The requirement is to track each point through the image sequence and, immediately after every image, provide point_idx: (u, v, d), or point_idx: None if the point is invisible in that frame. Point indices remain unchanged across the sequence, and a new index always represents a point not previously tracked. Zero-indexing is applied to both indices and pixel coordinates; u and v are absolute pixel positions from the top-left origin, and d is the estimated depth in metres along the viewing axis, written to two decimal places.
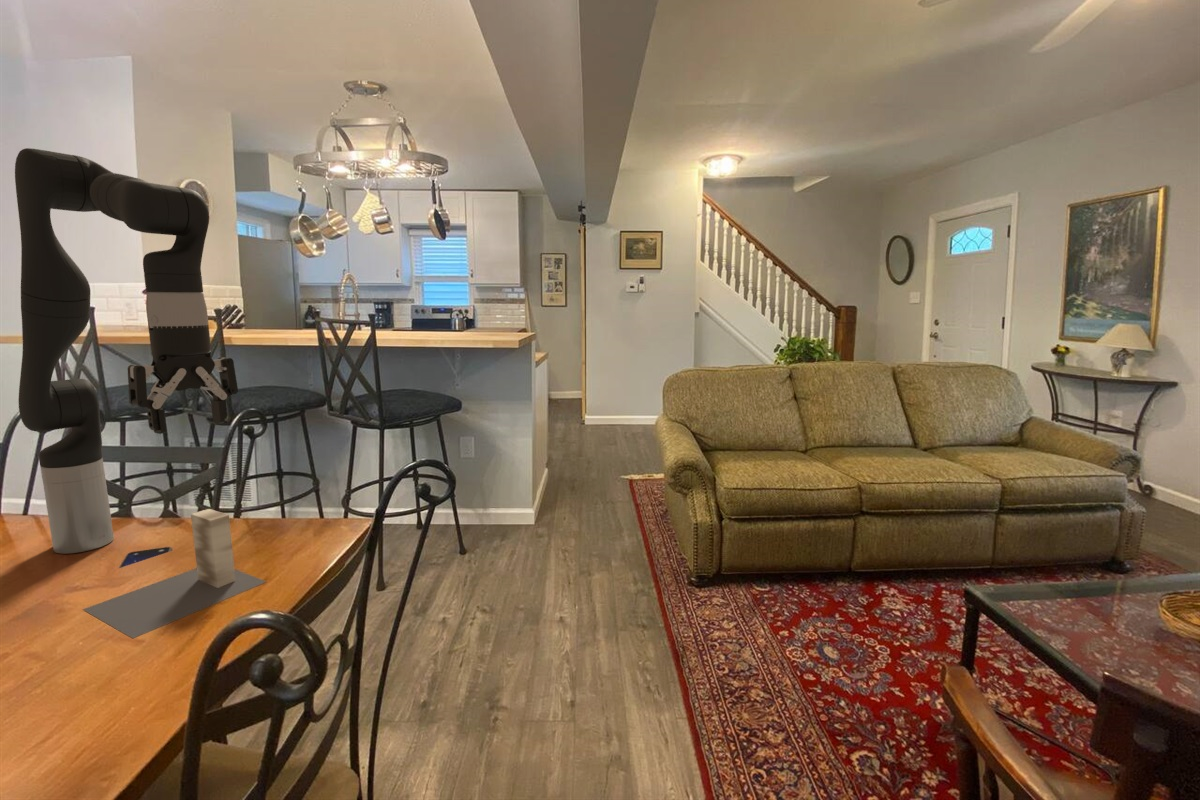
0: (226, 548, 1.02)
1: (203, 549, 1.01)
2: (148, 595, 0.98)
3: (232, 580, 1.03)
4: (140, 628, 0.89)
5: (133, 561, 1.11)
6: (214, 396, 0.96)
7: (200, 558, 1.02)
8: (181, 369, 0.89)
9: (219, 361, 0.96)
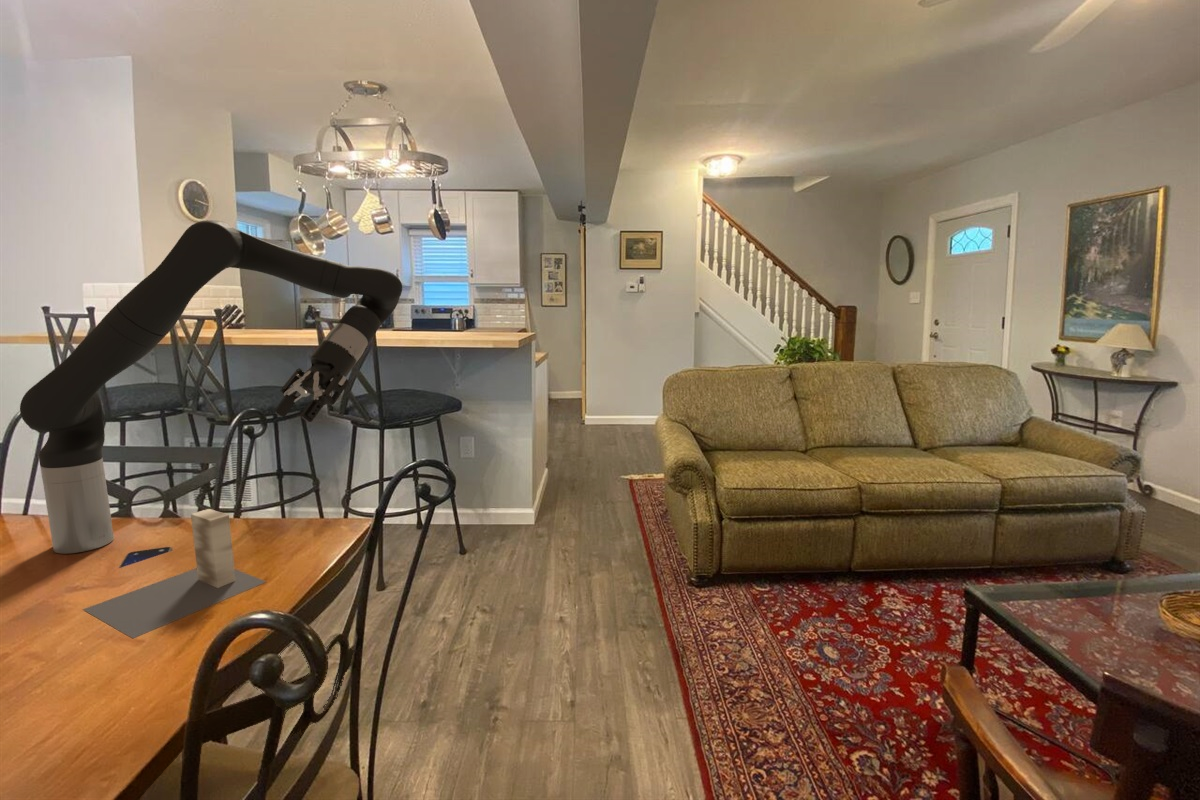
0: (226, 548, 1.02)
1: (203, 549, 1.01)
2: (148, 595, 0.98)
3: (232, 580, 1.03)
4: (140, 628, 0.89)
5: (133, 561, 1.11)
6: (291, 396, 1.17)
7: (200, 558, 1.02)
8: None
9: None
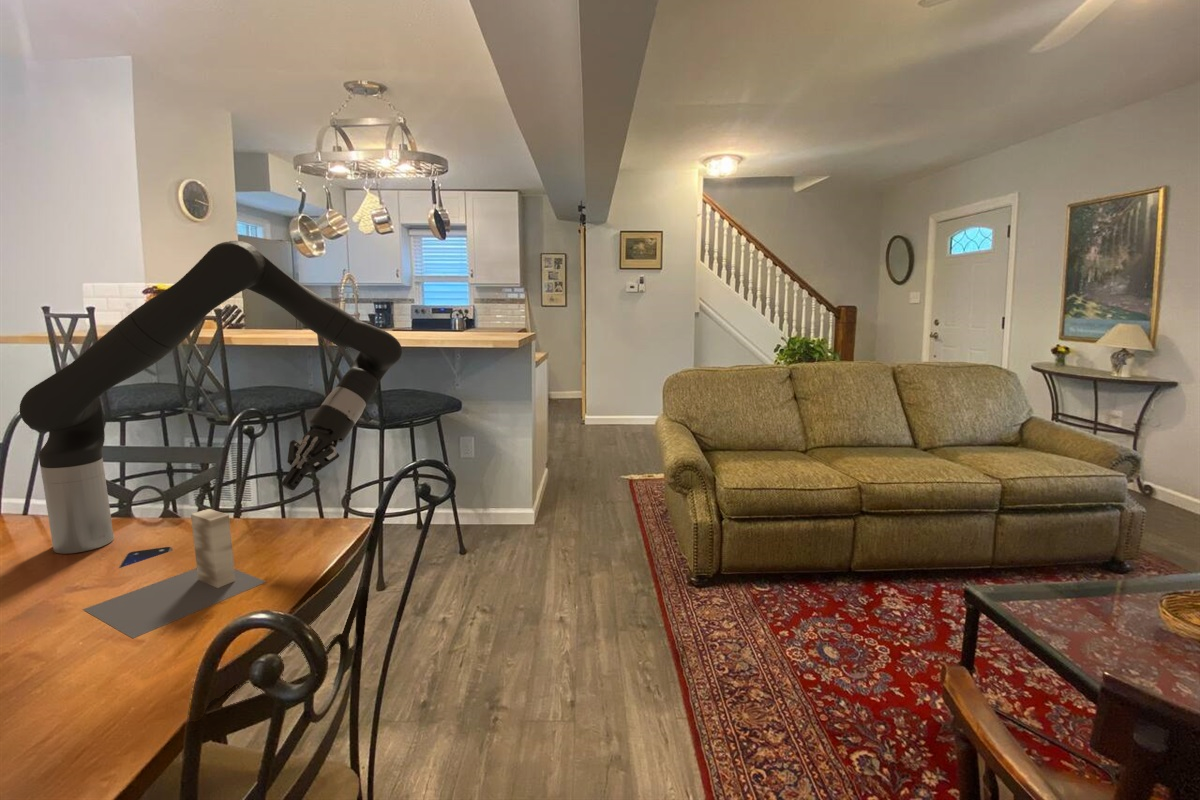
0: (226, 548, 1.02)
1: (203, 549, 1.01)
2: (148, 595, 0.98)
3: (232, 580, 1.03)
4: (140, 628, 0.89)
5: (133, 561, 1.11)
6: None
7: (200, 558, 1.02)
8: None
9: None
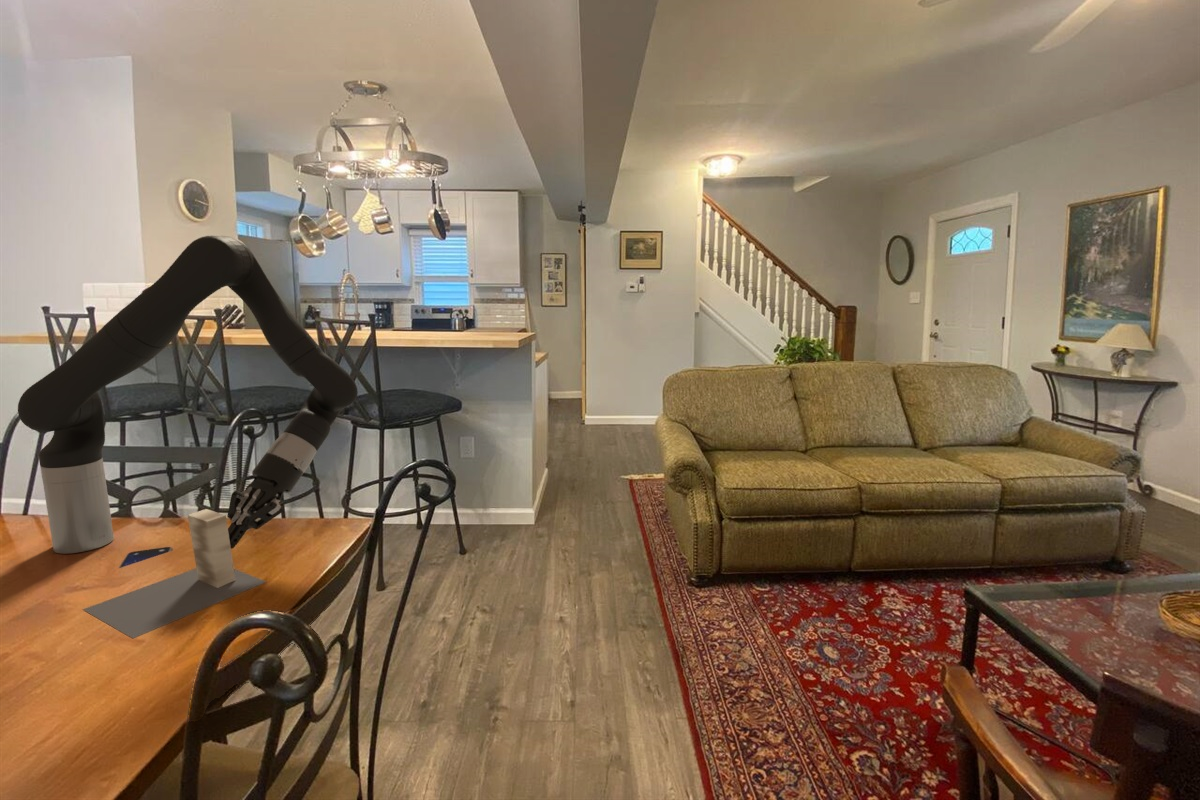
0: (224, 548, 1.01)
1: (201, 550, 1.01)
2: (148, 595, 0.98)
3: (232, 579, 1.03)
4: (140, 628, 0.89)
5: (133, 561, 1.11)
6: None
7: (199, 558, 1.02)
8: None
9: None
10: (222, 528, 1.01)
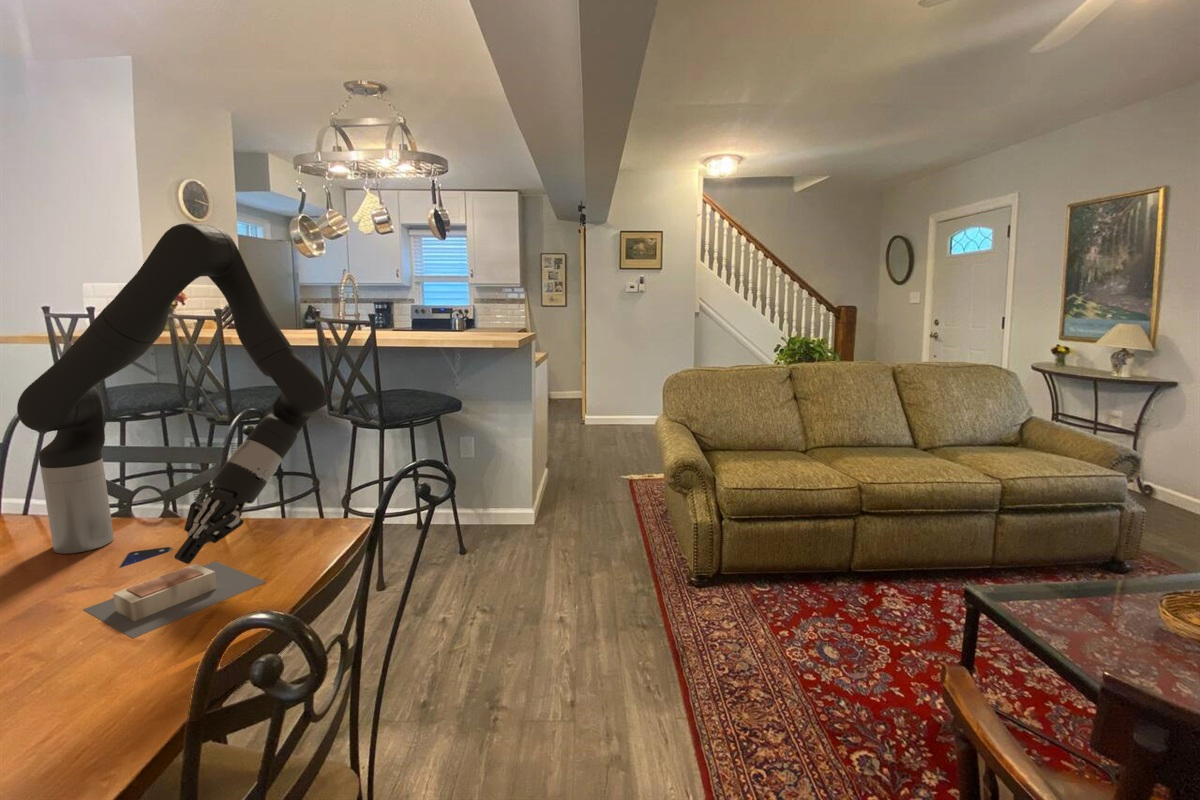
0: (174, 592, 0.95)
1: None
2: None
3: (213, 575, 1.00)
4: (140, 628, 0.89)
5: (133, 561, 1.11)
6: None
7: None
8: None
9: None
10: (148, 602, 0.92)
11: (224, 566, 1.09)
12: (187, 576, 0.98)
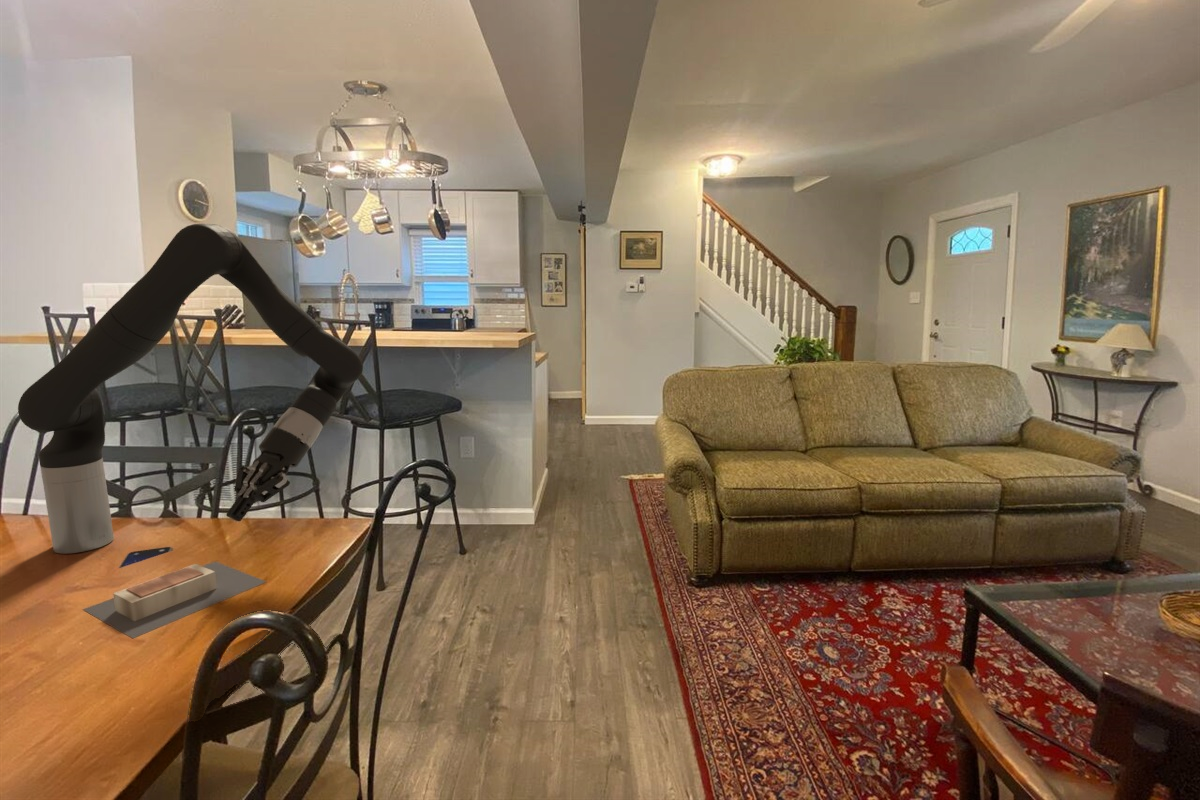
0: (174, 592, 0.95)
1: None
2: None
3: (213, 575, 1.00)
4: (140, 628, 0.89)
5: (133, 561, 1.11)
6: None
7: None
8: None
9: None
10: (148, 602, 0.92)
11: (224, 566, 1.09)
12: (187, 576, 0.98)
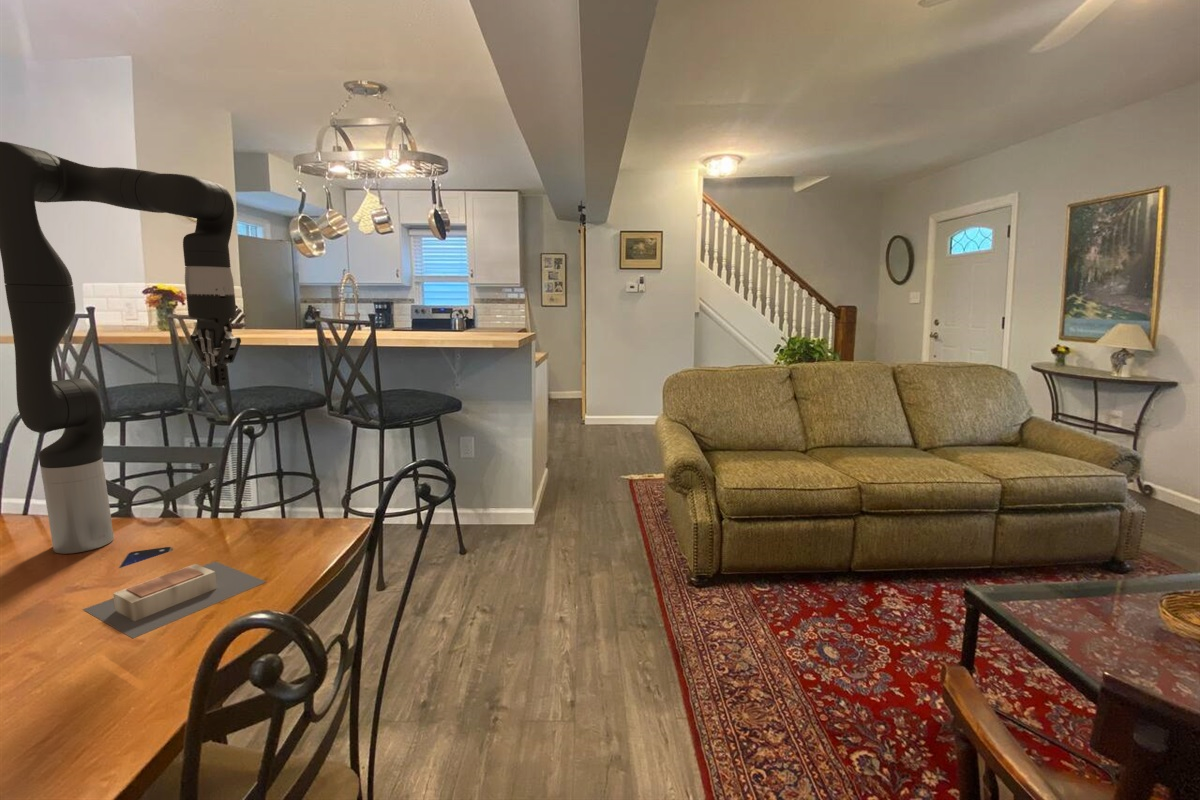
0: (174, 592, 0.95)
1: None
2: None
3: (213, 575, 1.00)
4: (140, 628, 0.89)
5: (133, 561, 1.11)
6: None
7: None
8: None
9: None
10: (148, 602, 0.92)
11: (224, 566, 1.09)
12: (187, 576, 0.98)
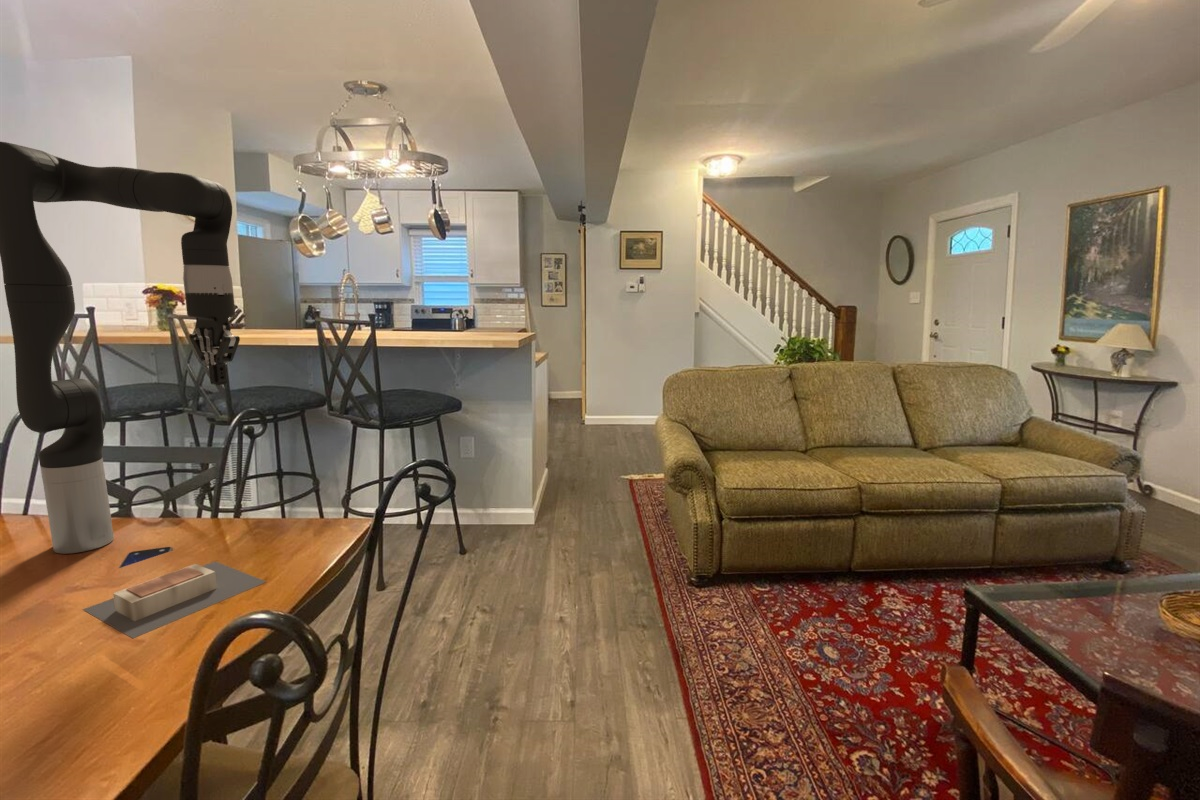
0: (174, 592, 0.95)
1: None
2: None
3: (213, 575, 1.00)
4: (140, 628, 0.89)
5: (133, 561, 1.11)
6: None
7: None
8: None
9: None
10: (148, 602, 0.92)
11: (224, 566, 1.09)
12: (187, 576, 0.98)
